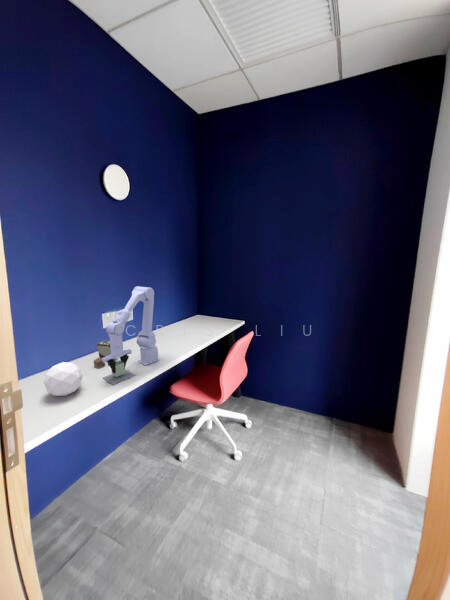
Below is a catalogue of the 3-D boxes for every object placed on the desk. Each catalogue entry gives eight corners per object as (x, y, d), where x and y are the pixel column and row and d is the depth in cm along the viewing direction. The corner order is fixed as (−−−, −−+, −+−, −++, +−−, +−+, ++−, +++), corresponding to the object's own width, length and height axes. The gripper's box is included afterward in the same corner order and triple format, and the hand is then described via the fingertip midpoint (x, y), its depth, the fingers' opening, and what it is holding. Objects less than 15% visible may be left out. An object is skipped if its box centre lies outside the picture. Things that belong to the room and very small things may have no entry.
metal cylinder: (114, 361, 147) (114, 355, 146) (116, 364, 144) (116, 357, 143) (107, 363, 145) (106, 356, 144) (109, 366, 142) (108, 359, 141)
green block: (120, 370, 133) (119, 360, 132) (124, 373, 130) (123, 362, 129) (112, 373, 129) (111, 363, 128) (116, 376, 127) (115, 365, 126)
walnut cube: (100, 364, 144) (100, 357, 143) (105, 366, 142) (104, 359, 141) (94, 367, 141) (93, 360, 140) (98, 368, 139) (98, 362, 138)
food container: (122, 357, 154) (120, 341, 151) (115, 361, 148) (113, 345, 146) (105, 354, 157) (103, 339, 155) (97, 358, 151) (96, 342, 149)
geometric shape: (56, 405, 115) (33, 380, 113) (86, 381, 126) (65, 358, 124) (61, 403, 105) (36, 376, 103) (93, 377, 115) (70, 352, 113)
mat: (125, 369, 138) (125, 369, 138) (135, 375, 131) (135, 375, 131) (102, 378, 129) (102, 377, 128) (112, 385, 122) (112, 384, 122)
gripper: (125, 339, 134) (127, 363, 137) (98, 347, 123) (100, 373, 126) (133, 343, 130) (134, 367, 133) (105, 351, 119) (107, 378, 122)
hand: (118, 370), depth 129 cm, fingers closed on green block, 4 cm apart
